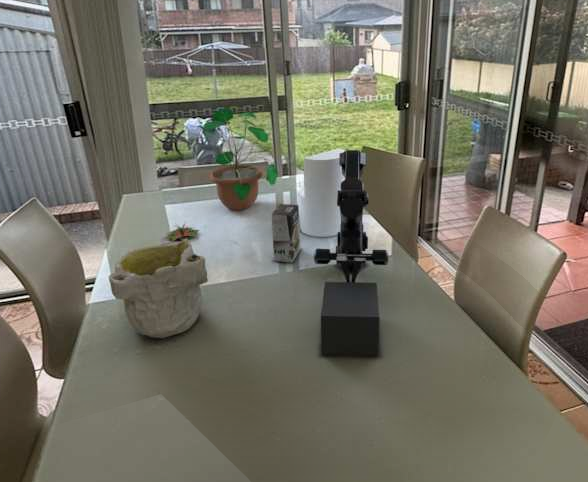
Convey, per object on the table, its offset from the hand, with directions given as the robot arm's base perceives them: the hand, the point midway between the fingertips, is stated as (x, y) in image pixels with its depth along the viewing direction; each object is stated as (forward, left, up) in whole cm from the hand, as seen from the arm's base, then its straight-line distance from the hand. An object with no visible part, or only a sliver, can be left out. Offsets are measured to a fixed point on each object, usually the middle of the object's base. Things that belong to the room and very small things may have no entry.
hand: (350, 290), depth 110 cm
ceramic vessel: (+30, -35, -7) cm, 47 cm away
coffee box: (-11, -35, -7) cm, 38 cm away
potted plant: (-31, -81, -7) cm, 87 cm away
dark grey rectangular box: (+7, +5, -7) cm, 11 cm away
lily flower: (+2, -74, -7) cm, 75 cm away
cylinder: (-35, -41, -7) cm, 55 cm away
